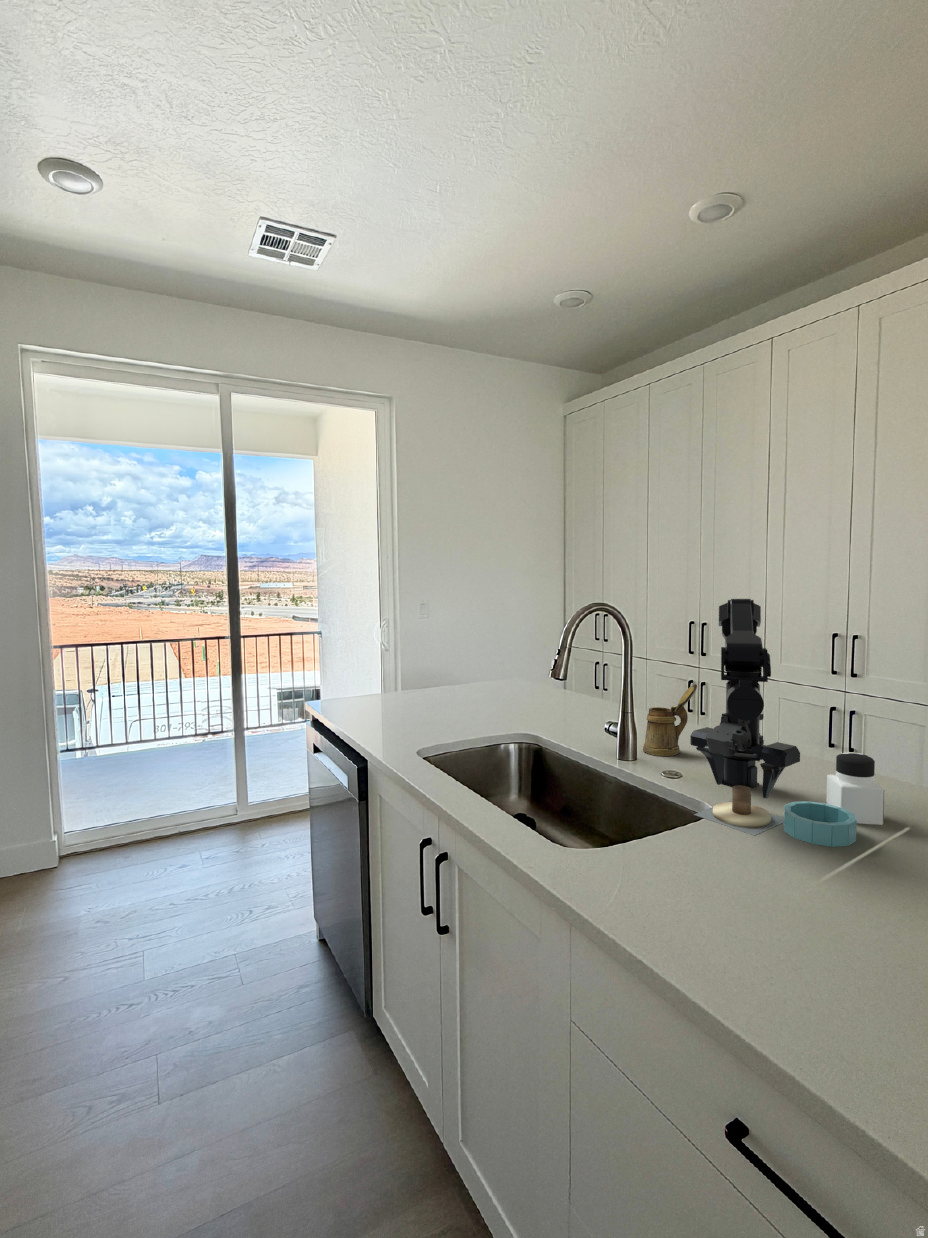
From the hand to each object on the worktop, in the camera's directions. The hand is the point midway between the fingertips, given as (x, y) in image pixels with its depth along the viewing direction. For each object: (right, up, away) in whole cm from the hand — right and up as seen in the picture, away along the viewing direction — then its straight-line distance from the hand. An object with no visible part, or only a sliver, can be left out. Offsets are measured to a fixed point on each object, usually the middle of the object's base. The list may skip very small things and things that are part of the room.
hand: (741, 790), depth 115 cm
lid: (0, -5, 0) cm, 5 cm away
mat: (0, -5, 0) cm, 5 cm away
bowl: (+10, -6, -7) cm, 14 cm away
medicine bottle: (+21, -5, 0) cm, 22 cm away
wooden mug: (+2, -3, +45) cm, 45 cm away
